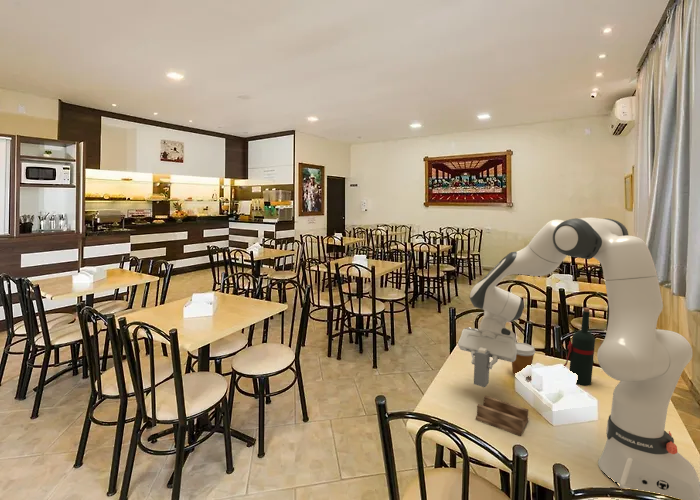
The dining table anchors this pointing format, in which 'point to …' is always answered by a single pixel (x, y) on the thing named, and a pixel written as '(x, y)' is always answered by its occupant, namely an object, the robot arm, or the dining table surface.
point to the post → (481, 367)
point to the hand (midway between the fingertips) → (481, 365)
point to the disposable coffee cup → (523, 357)
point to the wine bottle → (582, 352)
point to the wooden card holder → (502, 415)
